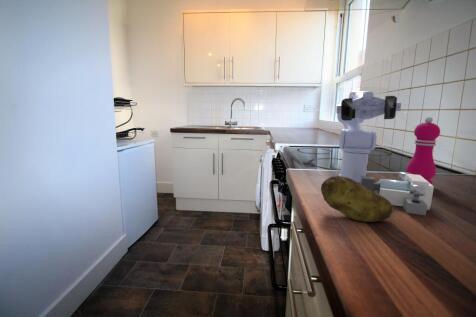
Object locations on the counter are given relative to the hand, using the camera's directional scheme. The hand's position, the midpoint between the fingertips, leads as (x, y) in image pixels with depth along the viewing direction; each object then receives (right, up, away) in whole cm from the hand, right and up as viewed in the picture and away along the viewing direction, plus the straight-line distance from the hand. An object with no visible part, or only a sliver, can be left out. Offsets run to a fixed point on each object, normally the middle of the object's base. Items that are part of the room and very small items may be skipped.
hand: (372, 113), depth 58 cm
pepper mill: (+23, -18, +18) cm, 35 cm away
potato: (-7, -22, -6) cm, 24 cm away
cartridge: (+6, -20, +5) cm, 21 cm away
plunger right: (+8, -20, -2) cm, 22 cm away
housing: (+8, -20, +4) cm, 22 cm away
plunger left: (+12, -18, +9) cm, 24 cm away
